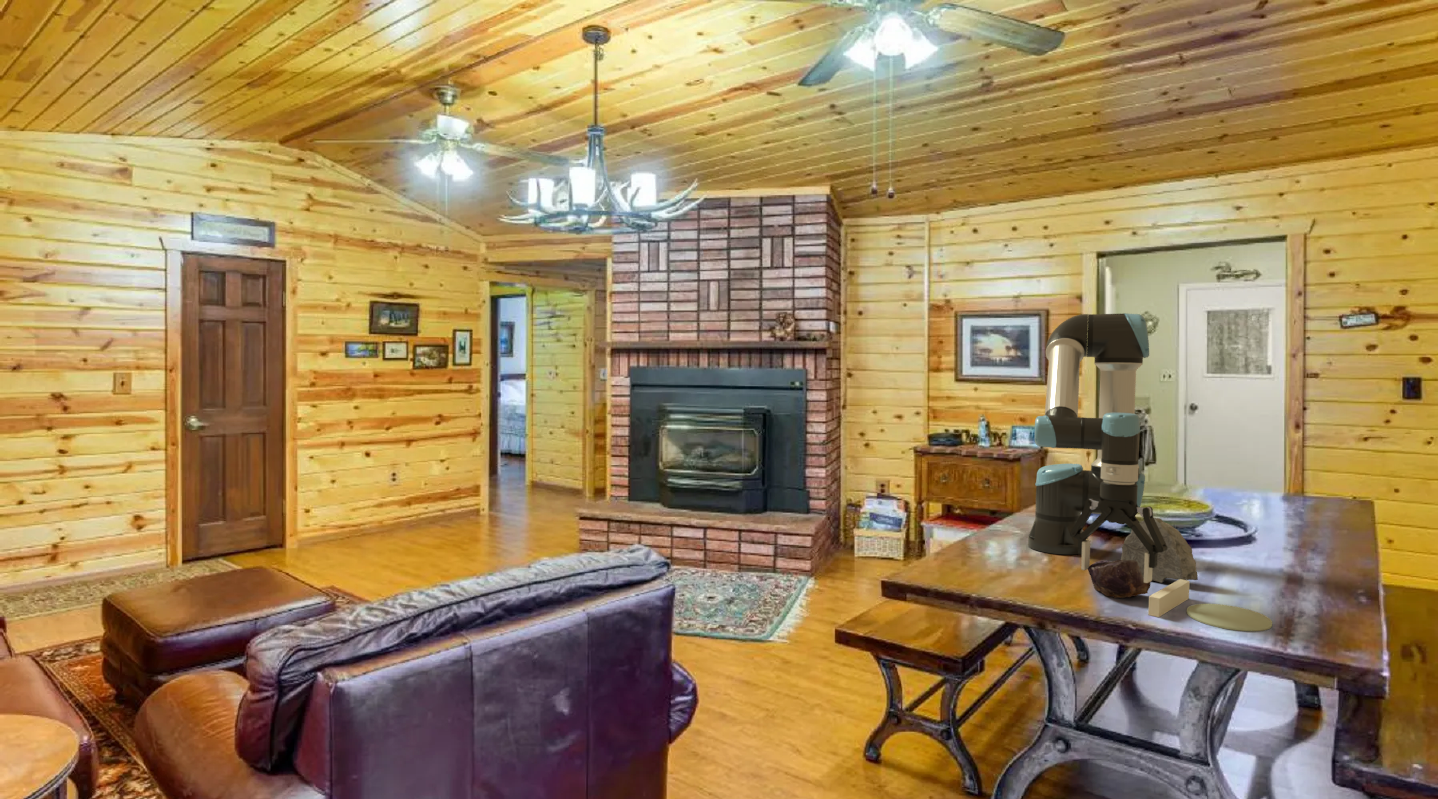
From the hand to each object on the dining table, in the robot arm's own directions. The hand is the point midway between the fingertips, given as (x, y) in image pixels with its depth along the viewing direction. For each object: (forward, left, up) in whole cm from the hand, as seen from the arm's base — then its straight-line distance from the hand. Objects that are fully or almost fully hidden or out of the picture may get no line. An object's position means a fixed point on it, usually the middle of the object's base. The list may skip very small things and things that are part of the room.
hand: (1115, 575), depth 181 cm
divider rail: (+11, +1, -5) cm, 12 cm away
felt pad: (+22, +2, -5) cm, 22 cm away
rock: (0, +1, -5) cm, 5 cm away
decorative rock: (+2, +20, -5) cm, 21 cm away
